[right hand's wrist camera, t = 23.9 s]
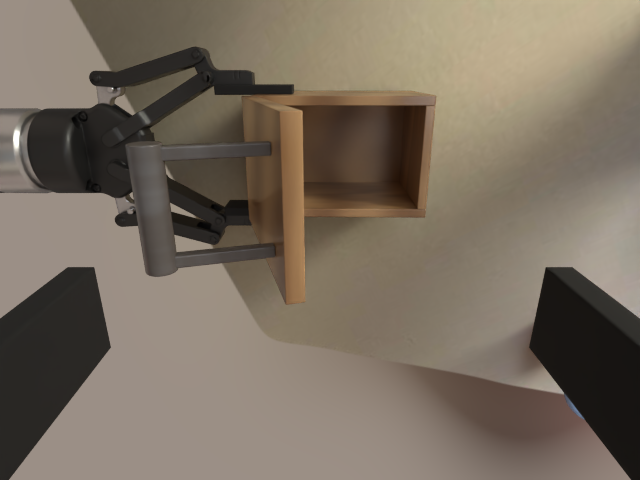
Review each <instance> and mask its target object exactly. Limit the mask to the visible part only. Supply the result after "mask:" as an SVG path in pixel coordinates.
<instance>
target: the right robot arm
mask: <svg viewBox="0 0 640 480" xmlns="http://www.w3.org/2000/svg"><path fill="white" fill-rule="evenodd" d="M110 348H111V346H110V341H109V337H108V332H107V327H106V322H105V318H104V313H103V308H102V303H101V298H100V293H99V289H98V284H97V279H96V274H95V269H94V267H68V268H66V269H65V270H64V271H62V272H61V273H60V274H58V275H57V276H56V277H54V278H53V279H52V280H50V281H49V282H48V283H47V284H45V285H44V286H43V287H41V288H40V289H39V290H37V291H36V292H35V293H33V294H32V295H31V296H29V297H28V298H27V299H25V300H24V301H23V302H21V303H20V304H19V305H17V306H16V307H15V308H14V309H12V310H11V311H10V312H8V313H7V314H6V315H4V316H3V317H2V318H0V480H9V479H10V478H11V476H12V475H13V474H14V472H15V471H16V470H17V468H18V467H19V466H20V465H21V463H22V462H23V461H24V459H25V458H26V457H27V455H28V454H29V453H30V451H31V450H32V449H33V448H34V446H35V445H36V444H37V442H38V441H39V440H40V439H41V437H42V436H43V435H44V433H45V432H46V431H47V429H48V428H49V427H50V426H51V424H52V423H53V422H54V420H55V419H56V418H57V417H58V415H59V414H60V413H61V411H62V410H63V409H64V407H65V406H66V405H67V404H68V402H69V401H70V400H71V398H72V397H73V396H74V394H75V393H76V392H77V391H78V389H79V388H80V387H81V385H82V384H83V383H84V381H85V380H86V379H87V378H88V376H89V375H90V374H91V372H92V371H93V370H94V368H95V367H96V366H97V365H98V363H99V362H100V361H101V359H102V358H103V357H104V355H105V354H106V353H107V352H108V350H109V349H110ZM529 348H530V349H531V350H532V352H533V353H534V354H535V355H536V357H537V358H538V359H539V361H540V362H541V363H542V365H543V366H544V367H545V368H546V370H547V371H548V372H549V374H550V375H551V376H552V378H553V379H554V380H555V381H556V383H557V384H558V385H559V387H560V388H561V389H562V391H563V392H564V393H565V394H566V396H567V397H568V398H569V400H570V401H571V402H572V404H573V405H574V406H575V407H576V409H577V410H578V411H579V413H580V414H581V415H582V417H583V418H584V419H585V420H586V422H587V423H588V424H589V426H590V427H591V428H592V429H593V431H594V432H595V433H596V435H597V436H598V437H599V439H600V440H601V441H602V442H603V444H604V445H605V446H606V448H607V449H608V450H609V452H610V453H611V454H612V455H613V457H614V458H615V459H616V461H617V462H618V463H619V465H620V466H621V467H622V468H623V470H624V471H625V472H626V474H627V475H628V476H629V478H630V479H631V480H640V318H638V317H637V316H636V315H634V314H633V313H632V312H630V311H629V310H628V309H626V308H625V307H624V306H623V305H621V304H620V303H619V302H617V301H616V300H615V299H613V298H612V297H611V296H609V295H608V294H607V293H605V292H604V291H603V290H601V289H600V288H599V287H597V286H596V285H595V284H594V283H592V282H591V281H590V280H588V279H587V278H586V277H584V276H583V275H582V274H580V273H579V272H578V271H576V270H575V269H574V268H572V267H546V269H545V274H544V279H543V284H542V288H541V293H540V298H539V303H538V308H537V313H536V317H535V322H534V327H533V332H532V337H531V341H530V346H529Z"/></svg>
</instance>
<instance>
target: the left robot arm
mask: <svg viewBox="0 0 640 480" xmlns="http://www.w3.org/2000/svg"><path fill="white" fill-rule="evenodd" d="M192 67H195V68H196V71H197V73H198V74H197V75H195V76H194V77H192V78H191V79H189V80H188V81H186V82H185V83H183V84H182V85H180V86H179V87H177V88H175V89H174V90H172V91H171V92H169V93H168V94H166V95H165V96H163V97H162V98H160V99H159V100H157V101H156V102H154V103H153V104H151V105H150V106H148V107H147V108H145V109H144V110H142V111H140V112H138V113H136V114H134V115H133V116H132V115H131V114H129V113H128V112H126V111H125V110H123V109H122V108H120V107H119V106H117V105H116V104H114V101H115V99H116V98H117V97H119V96H122V95H124V93H125V87H130V86H136V85H140V84H143V83H146V82H149V81H152V80H155V79H158V78H161V77H164V76H168V75H171V74H174V73H177V72H180V71H183V70H186V69H189V68H192ZM89 79H90V81H91V83H92V84H93V85H95V86H96V87H97V95H98V104H97V105H95V106H94V107H92V108H88V109H44V110H40V109H0V193H49V192H56V193H105V194H107V195H110V196H111V197H114V198H115V200H116V204H117V208H118V212H119V214H118V215H117V216H116V217H115V222H116V224H117V225H119V226H121V227H126V226H138V221H137V215H136V209H135V203H134V200H133V199H132V198H131V197H130V195H129V194H130V193H131V192H133V191H132V184H131V178H130V172H129V166H128V160H127V154H126V148H125V145H126V144H128V143H132V142H142V141H155V140H154V133H151V131H150V129H149V128H150V127H152V126H154V125H155V124H157V123H158V122H160V121H161V120H162V119H163V118H165V117H166V116H168V115H169V114H171V113H173V112H174V111H176V110H177V109H179V108H180V107H182V106H183V105H185V104H187V103H188V102H190V101H191V100H193V99H194V98H196V97H197V96H199V95H200V94H202V93H204V92H205V91H207V90H208V89H210V88H211V87H213V86H214V91H215V95H255V94H293V93H294V84H286V85H255V76H254V73H253V72H251V71H248V70H218V69H216V68H215V67H214V66H213V64H212V61H211V59H210V54H209V52H208V51H207V50H206V49H203V48H199V47H191V48H188V49H185V50H182V51H179V52H176V53H173V54H170V55H167V56H164V57H161V58H158V59H155V60H152V61H149V62H146V63H143V64H140V65H137V66H134V67H131V68H128V69H125V70H122V71H118V72H114V71H93V72H91V73H90V76H89ZM166 177H167V185H168V192H169V200H170V203H172V204H174V205H176V206H178V207H180V208H182V209H184V210H186V211H188V212H190V213H191V214H193V215H195V216H197V217H199V218H201V219H203V220H200V219H196V218H192V217H188V216H185V215H181V214H177V213H174V212H171V215H172V223H173V230H174V235H178V236H182V237H186V238H189V239H193V240H197V241H201V242H205V243H208V244H212V245H215V244H217V243H219V241H220V239H221V238H222V236H223V234H224V232H225V228H226V226H229V225H252V224H251V222H250V219H249V205H248V200H230V201H229V202H228V204H227V205H226V206H225V207H223V206H222V205H220V204H218V203H216V202H214V201H212V200H210V199H208V198H206V197H205V196H203V195H201V194H199V193H197V192H195V191H193V190H191V189H189V188H187V187H186V186H184V185H182V184H180V183H178V182H176V181H174V180H172V179H170V178H169V177H168V176H167V175H166ZM204 220H205V221H204Z"/></svg>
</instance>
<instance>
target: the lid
mask: <svg viewBox="0 0 640 480" xmlns="http://www.w3.org/2000/svg"><path fill="white" fill-rule="evenodd" d="M242 110H243V126H244V142H227V143H203V144H178V145H162V143H161V142H156V141H142V142H132V143H128V144H126V145H125V148H126V154H127V160H128V166H129V172H130V178H131V184H132V191H133V197H134V203H135V209H136V215H137V221H138V228H139V234H140V240H141V246H142V252H143V258H144V265H145V271H146V273H147V274H148V275H149V276H154V277H160V276H166V275H170V274H172V273H174V272H176V271H177V270H178V268H182V267H191V266H200V265H209V264H218V263H227V262H236V261H245V260H254V259H263V258H266V259H267V262H268V264H269V266H270V269H271V271H272V273H273V276H274V278H275V280H276V283H277V285H278V287H279V290H280V292H281V294H282V297H283V299H284V301H285V304H286V305H288V304H295V303H302V302H305V250H304V182H303V115H302V111H301V110H298V109H295V108H292V107H289V106H285V105H282V104H279V103H276V102H273V101H269V100H266V99H263V98H260V97H257V96H242ZM235 157H245V158H246V174H247V189H248V205H249V219H250V222H251V224H252V226H253V229H254V231H255V233H256V236H257V238H258V240H259V243H260V244H254V245H244V246H234V247H225V248H215V249H205V250H196V251H186V252H176V245H175V238H174V230H173V223H172V215H171V207H170V200H169V192H168V185H167V177H166V169H165V162H164V161H175V160H195V159H215V158H235Z"/></svg>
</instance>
